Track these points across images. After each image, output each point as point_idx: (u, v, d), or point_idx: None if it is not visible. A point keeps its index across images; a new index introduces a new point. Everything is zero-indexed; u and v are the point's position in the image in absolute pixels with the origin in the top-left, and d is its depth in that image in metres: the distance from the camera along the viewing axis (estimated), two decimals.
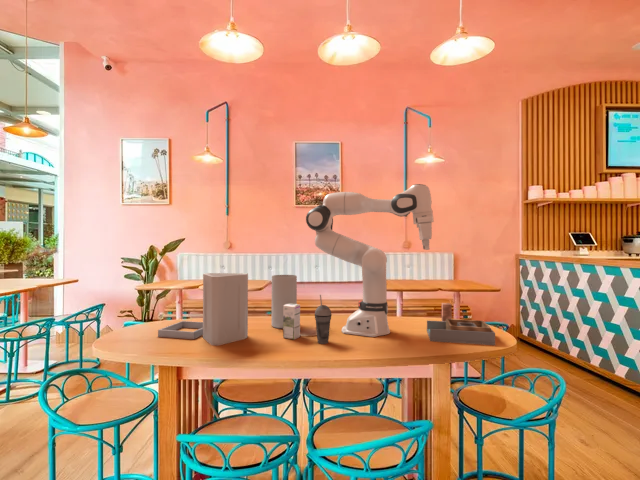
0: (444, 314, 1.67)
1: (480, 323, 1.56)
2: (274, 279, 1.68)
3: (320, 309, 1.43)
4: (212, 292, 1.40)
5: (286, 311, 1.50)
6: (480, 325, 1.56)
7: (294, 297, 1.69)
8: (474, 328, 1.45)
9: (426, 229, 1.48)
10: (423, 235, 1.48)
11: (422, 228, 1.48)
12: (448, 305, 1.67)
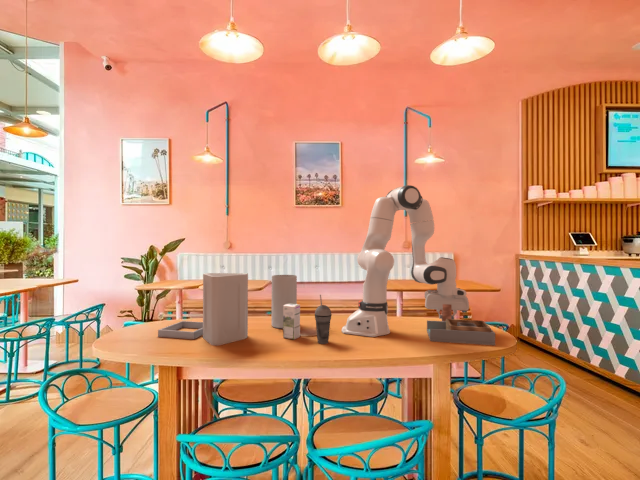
0: (444, 314, 1.67)
1: (480, 323, 1.56)
2: (274, 279, 1.68)
3: (320, 309, 1.43)
4: (212, 292, 1.40)
5: (285, 311, 1.50)
6: (480, 325, 1.56)
7: (294, 297, 1.69)
8: (474, 328, 1.45)
9: None
10: (468, 307, 1.65)
11: None
12: (448, 305, 1.67)
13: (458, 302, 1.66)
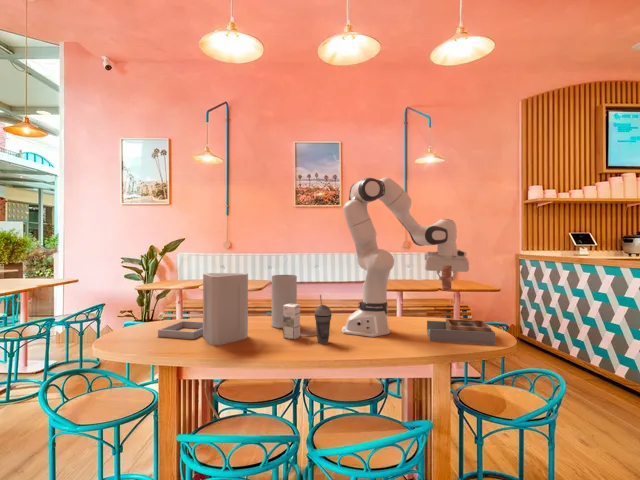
0: (444, 275, 1.67)
1: (480, 323, 1.56)
2: (274, 279, 1.68)
3: (320, 309, 1.43)
4: (212, 292, 1.40)
5: (286, 311, 1.50)
6: (480, 325, 1.56)
7: (294, 297, 1.69)
8: (474, 328, 1.45)
9: None
10: (468, 268, 1.65)
11: None
12: (448, 266, 1.67)
13: (458, 263, 1.66)
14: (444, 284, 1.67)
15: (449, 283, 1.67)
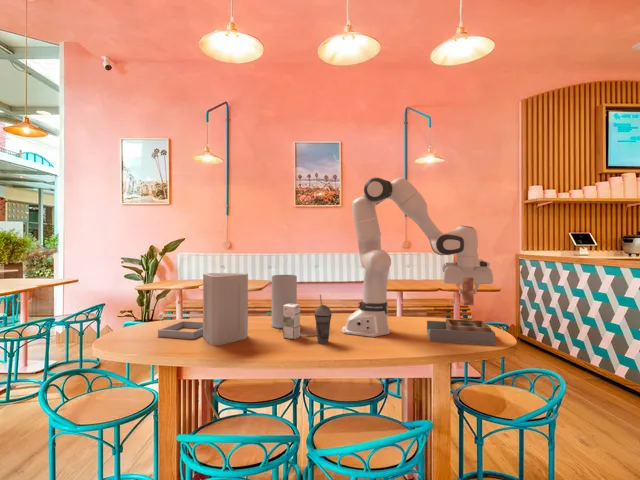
0: (465, 288, 1.50)
1: (480, 323, 1.56)
2: (274, 279, 1.68)
3: (320, 309, 1.43)
4: (212, 292, 1.40)
5: (286, 311, 1.50)
6: (480, 325, 1.56)
7: (294, 297, 1.69)
8: (474, 328, 1.45)
9: None
10: (492, 279, 1.48)
11: None
12: (469, 278, 1.50)
13: (480, 274, 1.49)
14: (465, 298, 1.50)
15: (471, 297, 1.50)
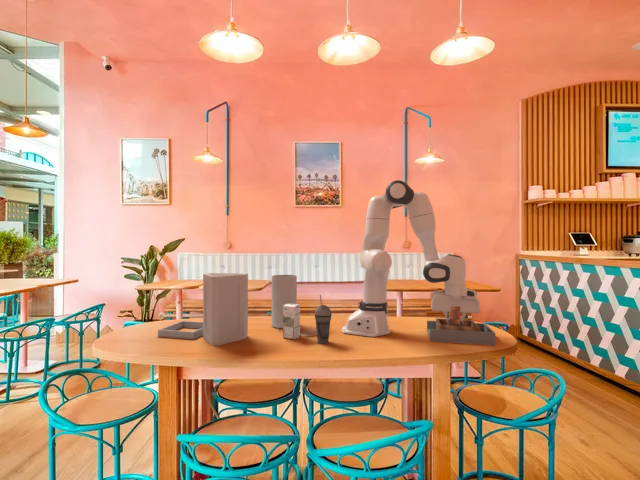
0: (452, 317, 1.51)
1: (470, 322, 1.57)
2: (274, 279, 1.68)
3: (320, 309, 1.43)
4: (212, 292, 1.40)
5: (286, 311, 1.50)
6: (470, 324, 1.57)
7: (294, 297, 1.69)
8: (463, 327, 1.46)
9: None
10: (479, 309, 1.49)
11: None
12: (456, 307, 1.51)
13: (467, 303, 1.50)
14: None
15: None
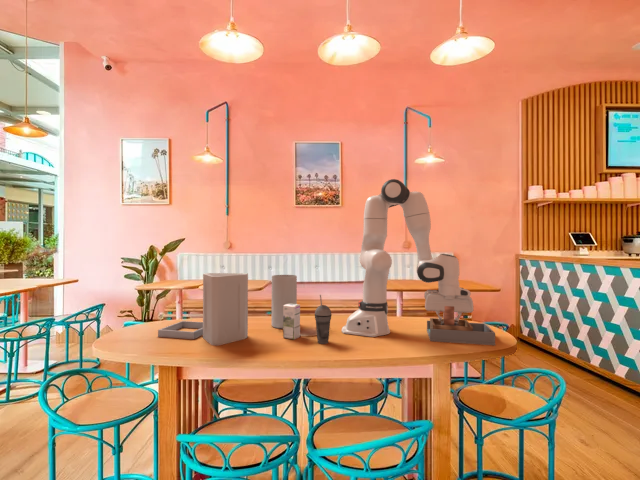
0: (446, 317, 1.52)
1: (464, 322, 1.58)
2: (274, 279, 1.68)
3: (320, 309, 1.43)
4: (212, 292, 1.40)
5: (286, 311, 1.50)
6: (464, 324, 1.58)
7: (294, 297, 1.69)
8: (456, 327, 1.46)
9: None
10: None
11: (472, 301, 1.50)
12: (450, 307, 1.52)
13: (461, 303, 1.51)
14: None
15: None
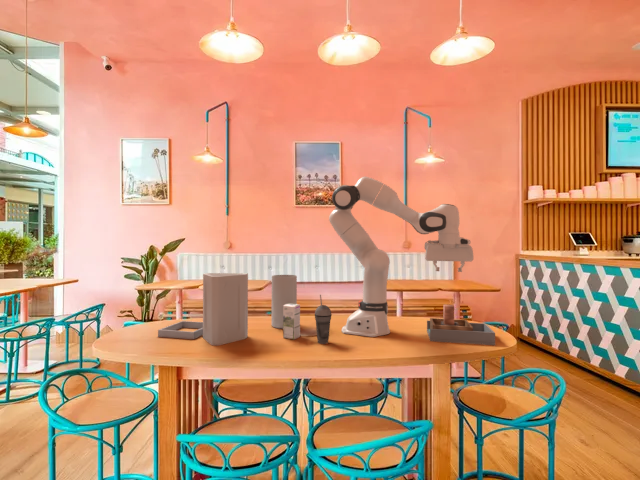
0: (446, 317, 1.52)
1: (464, 322, 1.58)
2: (274, 279, 1.68)
3: (320, 309, 1.43)
4: (212, 292, 1.40)
5: (285, 311, 1.50)
6: (464, 324, 1.58)
7: (294, 297, 1.69)
8: (456, 327, 1.46)
9: None
10: None
11: (472, 250, 1.50)
12: (450, 307, 1.52)
13: (461, 252, 1.51)
14: None
15: None
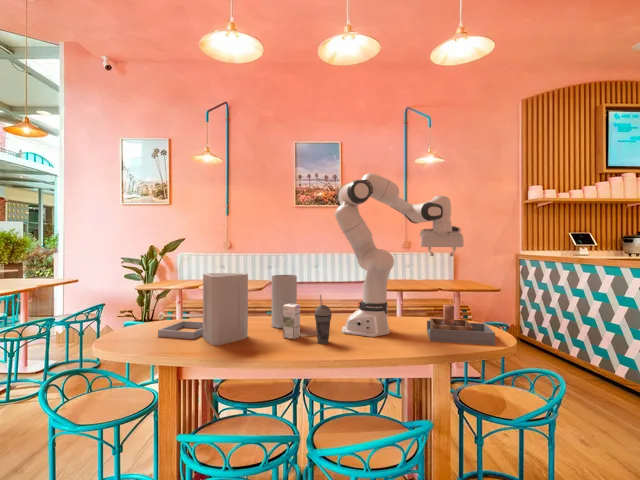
0: (446, 317, 1.52)
1: (464, 322, 1.58)
2: (274, 279, 1.68)
3: (320, 309, 1.43)
4: (212, 292, 1.40)
5: (286, 311, 1.50)
6: (464, 324, 1.58)
7: (294, 297, 1.69)
8: (456, 327, 1.46)
9: None
10: (463, 243, 1.69)
11: (462, 237, 1.69)
12: (450, 307, 1.52)
13: (452, 239, 1.70)
14: None
15: None
